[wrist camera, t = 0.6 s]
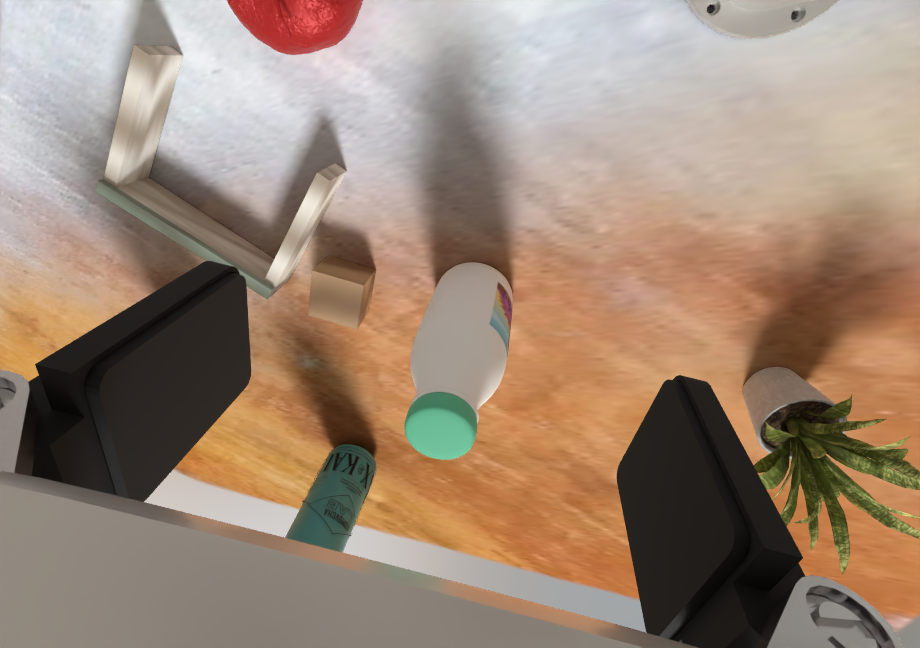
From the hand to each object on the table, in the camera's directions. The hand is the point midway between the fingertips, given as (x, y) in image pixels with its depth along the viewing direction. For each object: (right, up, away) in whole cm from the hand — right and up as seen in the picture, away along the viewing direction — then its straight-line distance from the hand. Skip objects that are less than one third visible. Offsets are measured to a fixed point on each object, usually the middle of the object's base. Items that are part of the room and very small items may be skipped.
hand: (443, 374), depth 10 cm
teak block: (-11, +5, +37) cm, 39 cm away
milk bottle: (+2, +4, +36) cm, 36 cm away
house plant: (+31, -6, +37) cm, 49 cm away
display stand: (-21, +15, +33) cm, 42 cm away
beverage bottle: (-13, -15, +49) cm, 53 cm away
